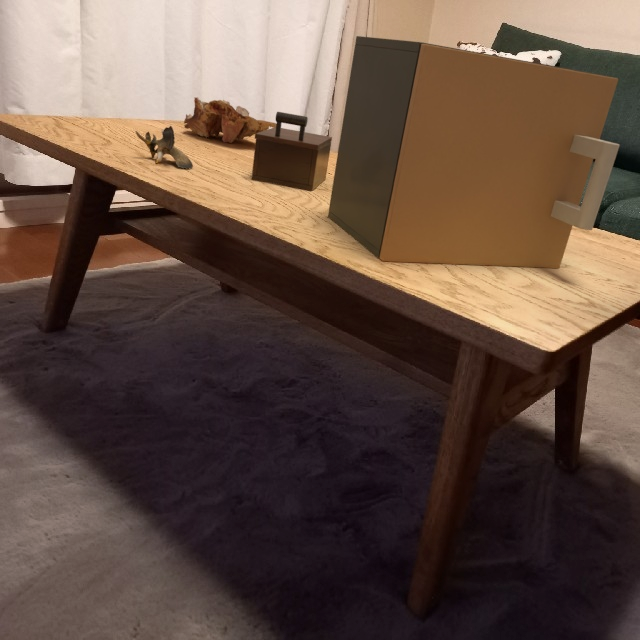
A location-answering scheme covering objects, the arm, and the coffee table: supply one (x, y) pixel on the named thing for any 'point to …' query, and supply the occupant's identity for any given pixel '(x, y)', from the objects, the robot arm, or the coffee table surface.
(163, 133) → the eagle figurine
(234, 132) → the mineral formation
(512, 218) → the cupboard door
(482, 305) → the coffee table surface
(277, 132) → the walnut lid
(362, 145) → the cupboard
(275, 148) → the walnut box
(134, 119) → the coffee table surface
